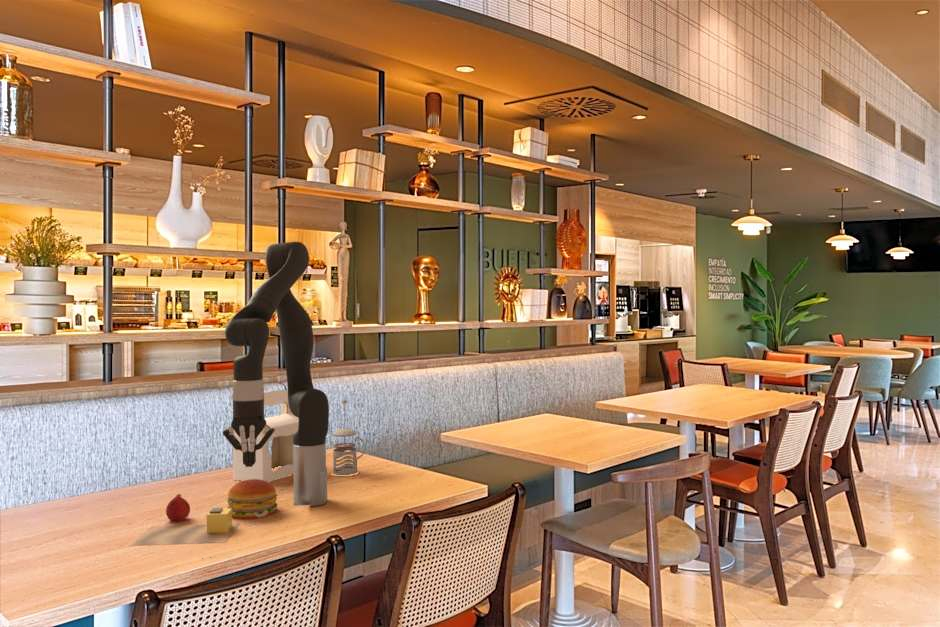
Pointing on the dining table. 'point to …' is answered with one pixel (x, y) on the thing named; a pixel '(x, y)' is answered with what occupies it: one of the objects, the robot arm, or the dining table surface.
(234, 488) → the burger
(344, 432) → the french press
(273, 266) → the robot arm
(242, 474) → the gable box
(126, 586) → the dining table surface
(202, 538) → the board
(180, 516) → the onion
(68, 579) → the dining table surface
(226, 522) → the yellow cube
